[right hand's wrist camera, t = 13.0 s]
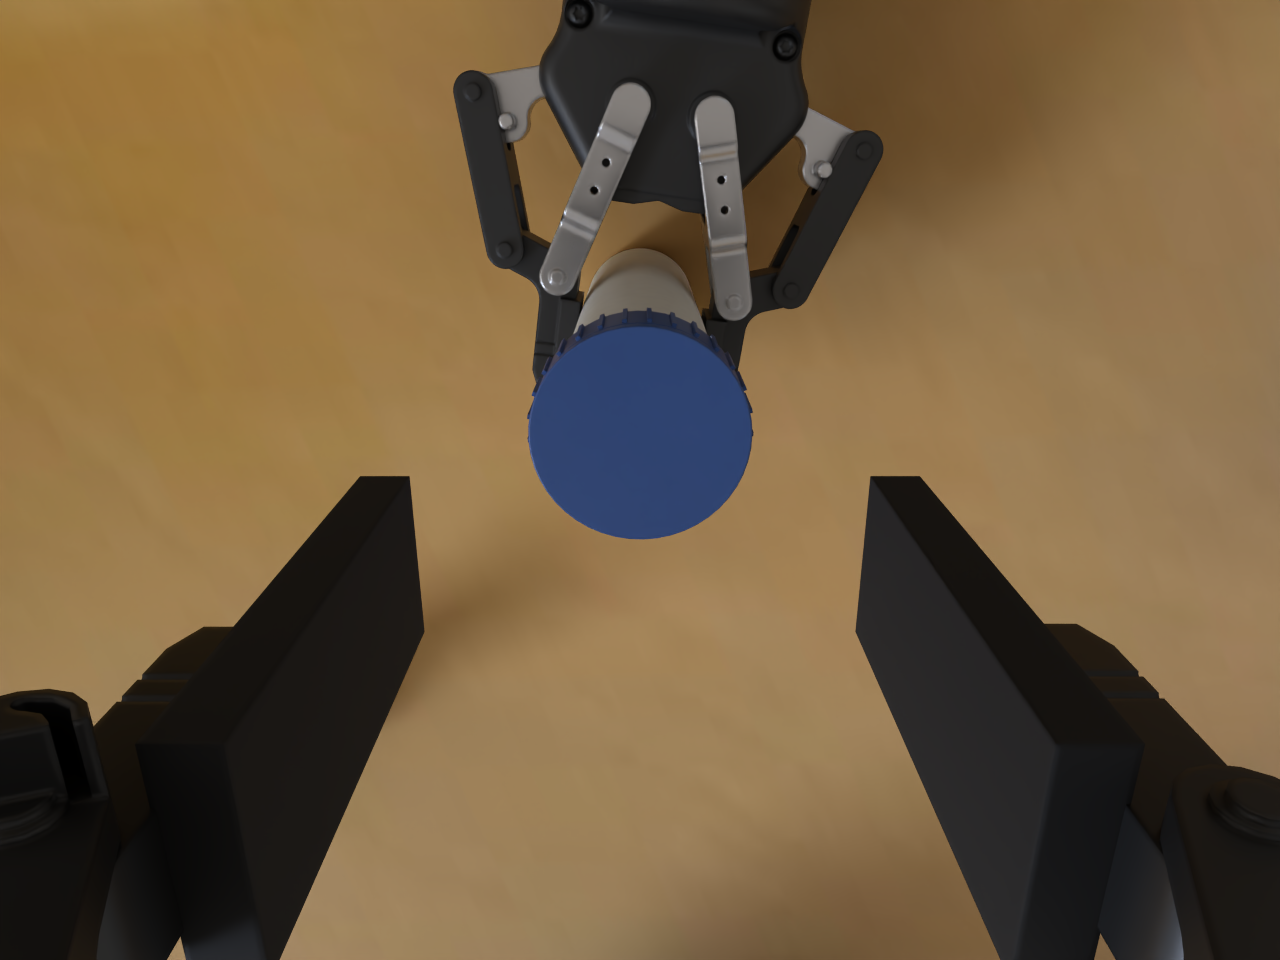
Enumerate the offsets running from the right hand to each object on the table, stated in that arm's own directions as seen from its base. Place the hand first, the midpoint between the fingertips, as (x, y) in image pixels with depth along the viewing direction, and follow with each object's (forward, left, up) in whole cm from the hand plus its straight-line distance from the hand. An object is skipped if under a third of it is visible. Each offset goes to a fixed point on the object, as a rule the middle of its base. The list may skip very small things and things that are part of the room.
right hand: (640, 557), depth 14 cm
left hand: (-2, +2, -18) cm, 18 cm away
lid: (0, 0, -6) cm, 6 cm away
